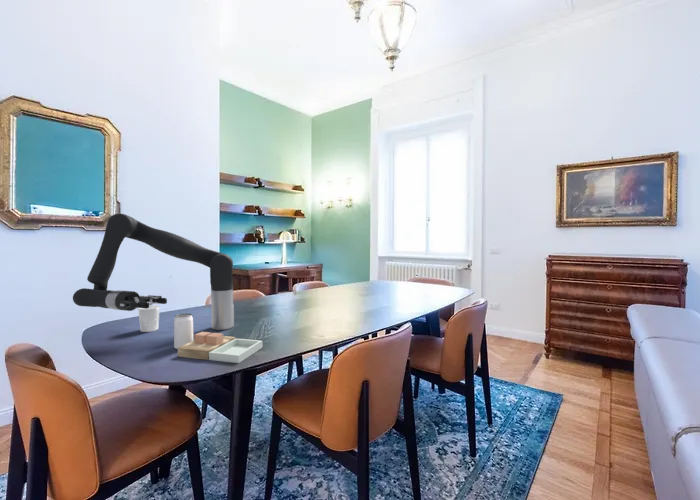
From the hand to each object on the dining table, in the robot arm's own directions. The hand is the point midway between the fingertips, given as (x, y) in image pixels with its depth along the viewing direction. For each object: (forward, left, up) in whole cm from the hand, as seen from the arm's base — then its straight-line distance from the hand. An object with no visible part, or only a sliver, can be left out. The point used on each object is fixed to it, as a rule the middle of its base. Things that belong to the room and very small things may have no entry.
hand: (157, 303), depth 129 cm
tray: (+1, +34, -16) cm, 38 cm away
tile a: (+1, +20, -13) cm, 24 cm away
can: (0, +11, -16) cm, 20 cm away
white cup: (-15, -19, -16) cm, 29 cm away
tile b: (+1, +25, -13) cm, 28 cm away
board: (+1, +22, -16) cm, 27 cm away
